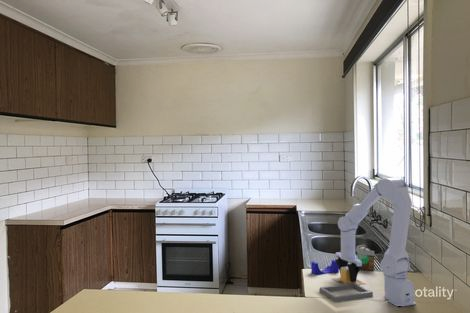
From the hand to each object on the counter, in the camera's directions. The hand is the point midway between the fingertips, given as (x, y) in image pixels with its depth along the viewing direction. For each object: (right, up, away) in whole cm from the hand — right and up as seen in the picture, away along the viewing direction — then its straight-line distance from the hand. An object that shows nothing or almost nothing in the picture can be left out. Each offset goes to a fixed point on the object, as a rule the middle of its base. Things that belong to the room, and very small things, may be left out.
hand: (348, 279), depth 138 cm
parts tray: (-5, -2, -14) cm, 15 cm away
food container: (+14, -3, +20) cm, 24 cm away
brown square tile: (0, -2, 0) cm, 2 cm away
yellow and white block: (0, -1, 0) cm, 1 cm away
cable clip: (-7, -3, +12) cm, 14 cm away
